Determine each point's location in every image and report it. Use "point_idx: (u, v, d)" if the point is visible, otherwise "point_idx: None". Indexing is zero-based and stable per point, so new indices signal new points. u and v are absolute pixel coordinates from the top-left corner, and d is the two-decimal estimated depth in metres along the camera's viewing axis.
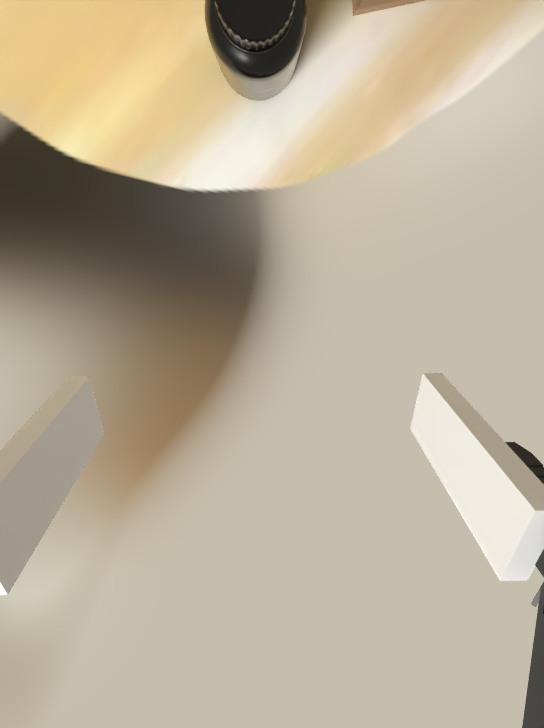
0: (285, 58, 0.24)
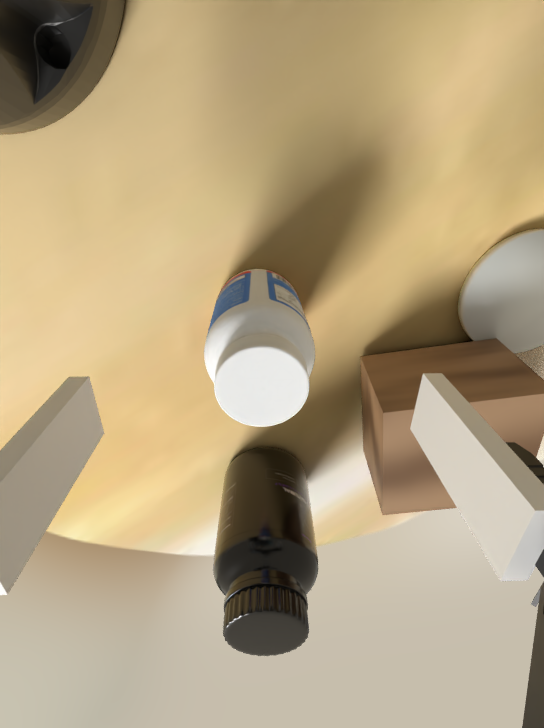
0: None
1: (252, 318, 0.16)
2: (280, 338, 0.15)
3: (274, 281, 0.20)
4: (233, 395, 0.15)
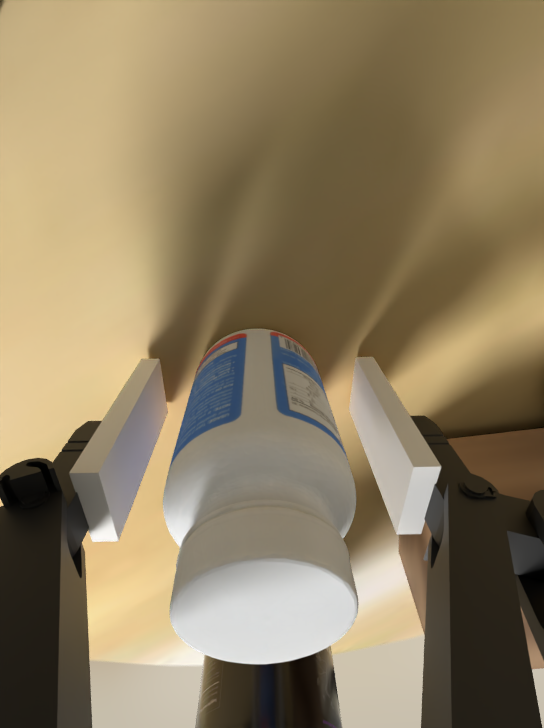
0: None
1: (246, 463, 0.08)
2: (301, 516, 0.08)
3: (283, 357, 0.13)
4: (208, 628, 0.08)
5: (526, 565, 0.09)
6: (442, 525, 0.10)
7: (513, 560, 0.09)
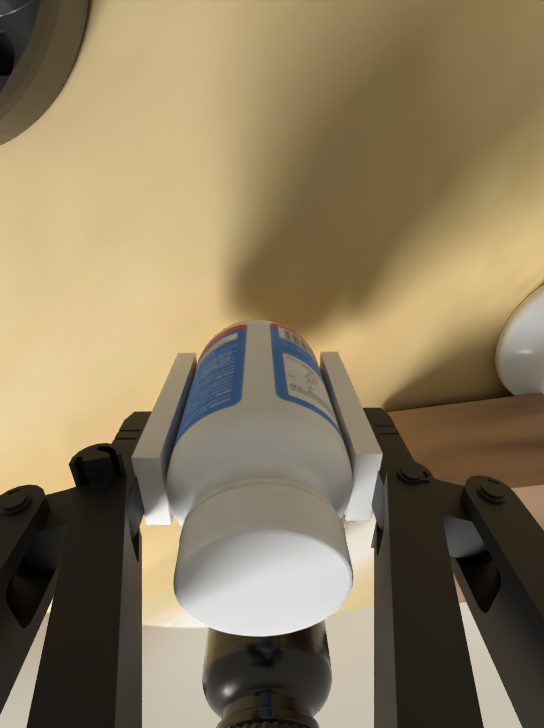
0: None
1: (247, 443, 0.09)
2: (298, 493, 0.08)
3: (282, 347, 0.13)
4: (210, 599, 0.08)
5: (459, 546, 0.09)
6: (385, 512, 0.10)
7: (447, 542, 0.09)
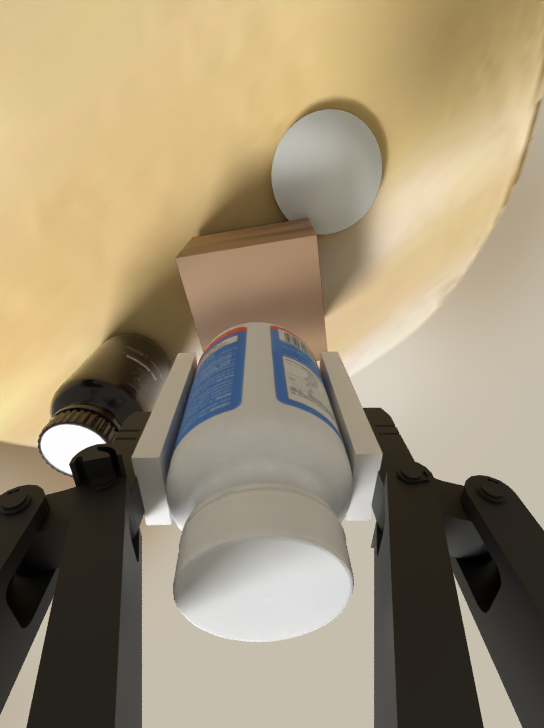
0: None
1: (246, 448, 0.09)
2: (299, 498, 0.08)
3: (282, 349, 0.13)
4: (210, 605, 0.08)
5: (459, 546, 0.09)
6: (385, 512, 0.10)
7: (447, 542, 0.09)
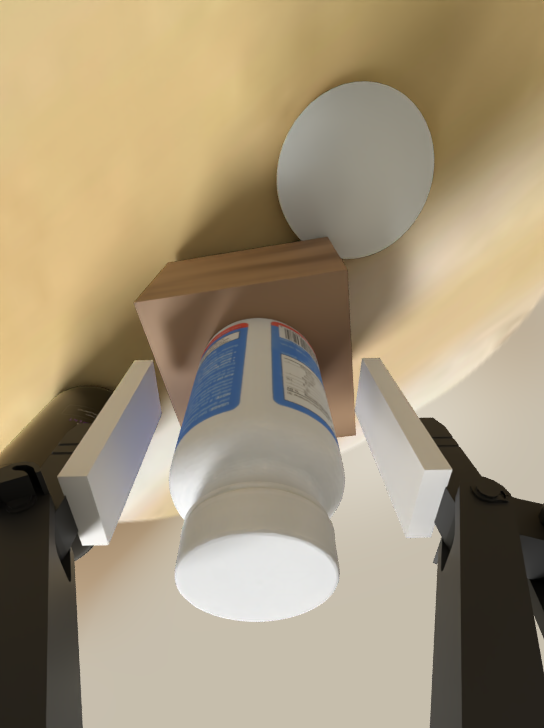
0: (77, 559, 0.19)
1: (243, 448, 0.09)
2: (290, 497, 0.09)
3: (281, 347, 0.13)
4: (208, 590, 0.09)
5: (539, 569, 0.09)
6: (453, 528, 0.09)
7: (526, 564, 0.09)
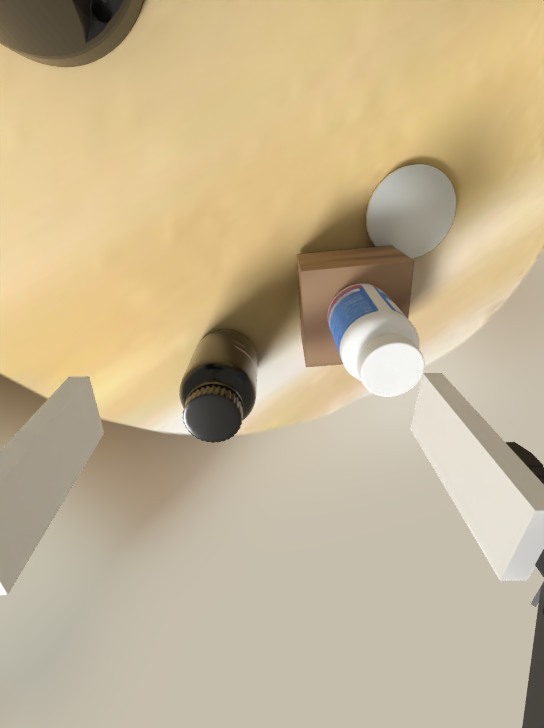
0: None
1: (385, 323, 0.23)
2: (407, 338, 0.23)
3: (383, 295, 0.27)
4: (373, 373, 0.23)
5: None
6: None
7: None
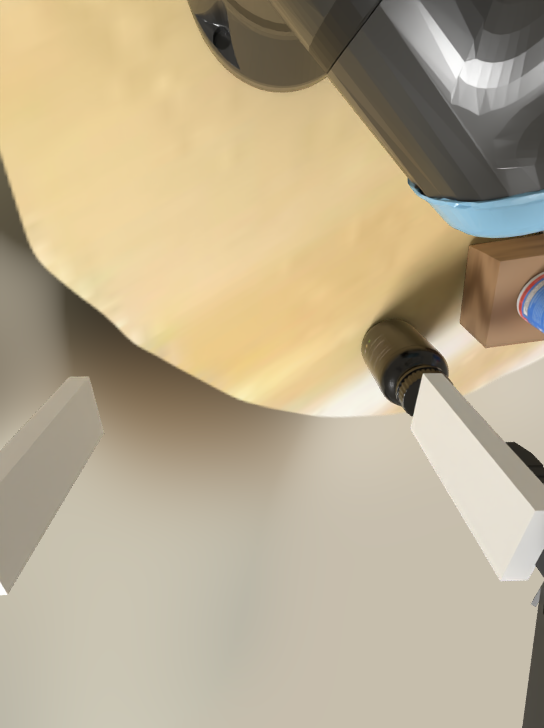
0: None
1: None
2: None
3: None
4: None
5: None
6: None
7: None
